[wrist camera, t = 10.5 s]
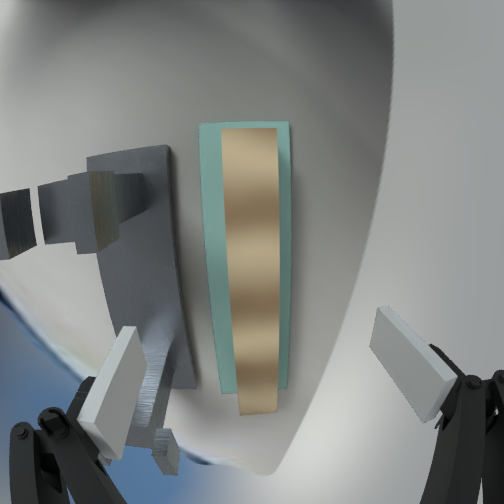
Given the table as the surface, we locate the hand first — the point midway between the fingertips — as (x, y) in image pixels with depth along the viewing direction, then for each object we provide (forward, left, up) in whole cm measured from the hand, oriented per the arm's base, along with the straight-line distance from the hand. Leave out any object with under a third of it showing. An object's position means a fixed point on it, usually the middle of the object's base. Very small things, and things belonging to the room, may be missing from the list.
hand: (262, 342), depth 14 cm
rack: (0, -9, -10) cm, 14 cm away
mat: (0, 0, -10) cm, 10 cm away
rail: (+1, 0, -10) cm, 10 cm away
